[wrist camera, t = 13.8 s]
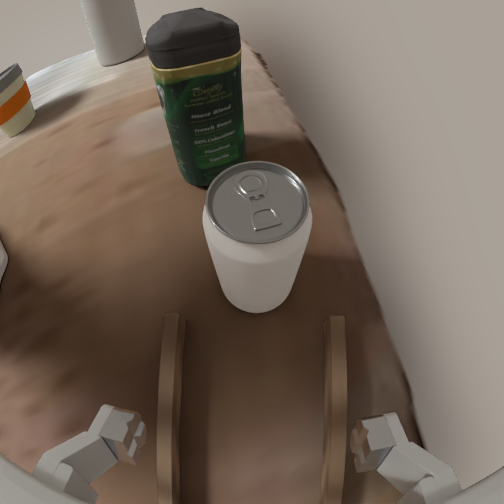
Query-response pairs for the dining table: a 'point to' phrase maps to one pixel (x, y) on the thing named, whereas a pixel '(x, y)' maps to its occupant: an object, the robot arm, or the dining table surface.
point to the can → (257, 232)
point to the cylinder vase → (113, 29)
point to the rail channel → (172, 407)
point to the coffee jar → (200, 90)
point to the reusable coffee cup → (14, 102)
